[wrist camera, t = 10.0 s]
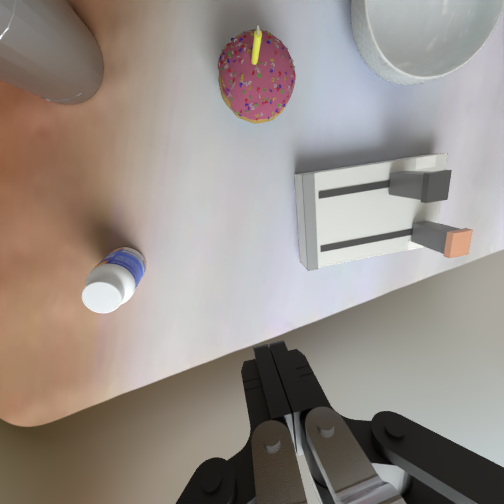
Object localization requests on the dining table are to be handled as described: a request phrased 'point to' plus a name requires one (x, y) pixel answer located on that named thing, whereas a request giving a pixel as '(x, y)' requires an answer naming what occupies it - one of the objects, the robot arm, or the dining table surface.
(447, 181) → the black fader
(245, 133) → the dining table surface
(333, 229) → the console
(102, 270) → the pill bottle
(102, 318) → the dining table surface
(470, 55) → the cereal bowl
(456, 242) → the terracotta fader
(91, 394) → the dining table surface
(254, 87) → the cupcake
